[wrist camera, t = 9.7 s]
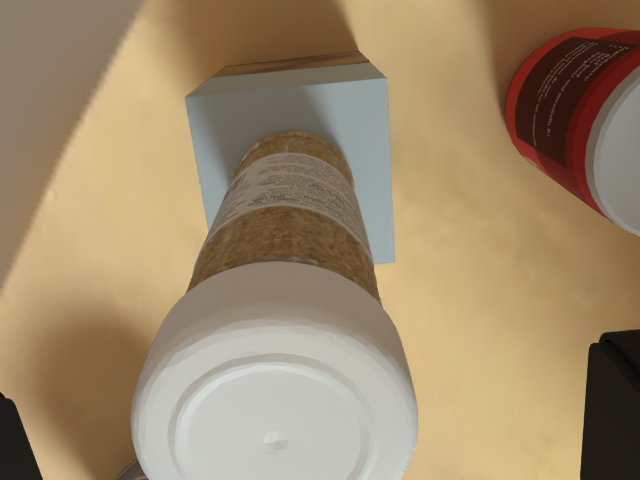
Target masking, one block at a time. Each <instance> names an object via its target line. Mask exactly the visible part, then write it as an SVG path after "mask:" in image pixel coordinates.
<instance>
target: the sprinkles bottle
mask: <svg viewBox="0 0 640 480" xmlns="http://www.w3.org/2000/svg"><path fill="white" fill-rule="evenodd" d="M130 431H131V437H132V443H133V446H134V449H135V453H136V456H137V459H138V461H139V463H140V465H141V468H142V470H143V472H144V473H145V475H146V476H147V478H148V479H149V480H400V479H401V477H402V476H403V474H404V473H405V471H406V469H407V467H408V465H409V462H410V460H411V457H412V455H413V452H414V448H415V445H416V440H417V431H418V410H417V401H416V396H415V392H414V387H413V383H412V379H411V375H410V371H409V367H408V363H407V359H406V356H405V352H404V349H403V346H402V342H401V339H400V337H399V334H398V332H397V329H396V327H395V325H394V324H393V322H392V320H391V318H390V317H389V315H388V314H387V313H386V311H385V310H384V309H383V307H382V304H381V301H380V297H379V293H378V289H377V282H376V276H375V273H374V261H373V257H372V253H371V249H370V245H369V240H368V236H367V232H366V228H365V225H364V221H363V217H362V214H361V210H360V206H359V203H358V200H357V197H356V195H355V188H354V180H353V176H352V172H351V170H350V167H349V165H348V164H347V162H346V160H345V159H344V157H343V155H342V154H341V152H340V151H339V150H338V149H337V148H336V147H334V146H333V145H331V144H330V143H329V142H328V141H327V140H325V139H323V138H321V137H319V136H317V135H315V134H313V133H308V132H304V131H299V130H291V131H281V132H277V133H274V134H270V135H268V136H266V137H264V138H262V139H260V140H258V141H257V142H256V143H254V144H253V145H252V146H250V147H249V148H248V150H247V151H246V152H245V154H244V155H243V156H242V157H241V159H240V161H239V163H238V164H237V166H236V168H235V170H234V173H233V177H232V183H231V185H230V186H229V188H228V190H227V192H226V194H225V196H224V198H223V201H222V203H221V205H220V208H219V210H218V212H217V214H216V217H215V219H214V221H213V224H212V226H211V228H210V231H209V233H208V235H207V238H206V240H205V242H204V244H203V246H202V249H201V251H200V253H199V256H198V258H197V261H196V263H195V267H194V271H193V275H192V279H191V281H190V284H189V287H188V289H187V291H186V294H185V295H184V296H183V297H182V298H181V299H180V300H179V301H178V302H177V303H176V304H175V305H174V306H173V307H172V309H171V310H170V312H169V313H168V315H167V316H166V318H165V319H164V321H163V322H162V325H161V327H160V329H159V331H158V333H157V335H156V337H155V339H154V341H153V344H152V346H151V348H150V351H149V353H148V356H147V358H146V360H145V363H144V365H143V368H142V371H141V373H140V376H139V379H138V381H137V384H136V387H135V391H134V394H133V399H132V405H131V412H130Z"/></svg>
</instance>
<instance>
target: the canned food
mask: <svg viewBox="0 0 640 480" xmlns="http://www.w3.org/2000/svg"><path fill="white" fill-rule="evenodd" d="M505 116H506V123H507V128H508V132H509V135H510V137H511V140H512V142H513V144H514V145H515V147H516V148H517V150H518V151H519V153H520V154H521V155H522V156H523V157H525V158H526V159H527V160H528V161H529V162H530V163H531V164H533V165H534V166H536V167H537V168H538V169H540V170H541V171H542V172H544V173H545V174H546V175H548V176H549V177H550V178H552V179H553V180H555V181H556V182H557V183H559V184H560V185H561V186H563V187H564V188H565V189H567V190H568V191H569V192H571V193H572V194H574V195H575V196H576V197H578V198H579V199H580V200H582V201H583V202H584V203H586V204H587V205H588V206H590V207H591V208H593V209H594V210H595V211H597V212H598V213H599V214H601V215H602V216H604V217H606V218H607V219H609V220H610V221H611V222H613V223H614V224H616V225H617V226H619V227H621V228H623V229H625V230H626V231H628V232H630V233H633V234H635V235H637V236H638V237H640V31H635V30H622V29H609V28H583V29H578V30H574V31H570V32H567V33H564V34H562V35H560V36H558V37H555V38H553V39H551V40H549V41H548V42H547V43H545V44H544V45H543V46H541V47H540V48H538V49H537V50H536V51H534V52H533V53H532V54H531V55H530V56H529V57H528V58H527V59H526V60H525V61H524V62H523V64H522V65H521V67H520V68H519V69H518V71H517V72H516V74H515V76H514V78H513V80H512V82H511V84H510V87H509V90H508V94H507V98H506V110H505Z"/></svg>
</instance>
